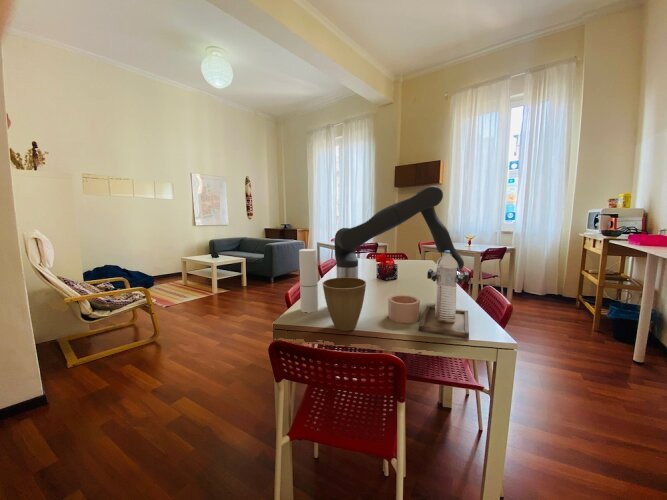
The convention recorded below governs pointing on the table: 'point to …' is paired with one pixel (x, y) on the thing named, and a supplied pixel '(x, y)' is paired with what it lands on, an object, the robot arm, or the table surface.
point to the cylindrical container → (308, 280)
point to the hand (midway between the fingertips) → (446, 279)
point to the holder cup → (403, 308)
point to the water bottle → (446, 289)
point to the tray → (445, 324)
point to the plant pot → (344, 301)
